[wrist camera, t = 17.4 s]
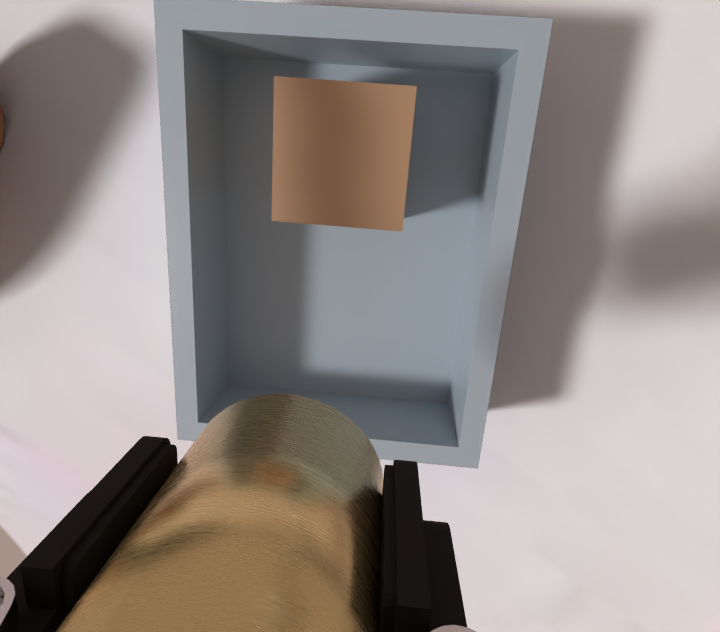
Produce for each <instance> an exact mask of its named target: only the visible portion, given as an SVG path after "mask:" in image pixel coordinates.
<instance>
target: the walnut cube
mask: <svg viewBox="0 0 720 632" xmlns="http://www.w3.org/2000/svg"><path fill="white" fill-rule="evenodd" d="M416 90H417V86H408V85H394V84H380V83H365V82H351V81H337V80H323V79H308V78H294V77H280V76H274V104H273V161H272V219H271V221H279V222H291V223H303V224H316V225H328V226H340V227H352V228H364V229H376V230H388V231H400V232H402V230H403V220H404V210H405V200H406V190H407V180H408V170H409V160H410V150H411V140H412V130H413V120H414V110H415V100H416Z"/></svg>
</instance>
